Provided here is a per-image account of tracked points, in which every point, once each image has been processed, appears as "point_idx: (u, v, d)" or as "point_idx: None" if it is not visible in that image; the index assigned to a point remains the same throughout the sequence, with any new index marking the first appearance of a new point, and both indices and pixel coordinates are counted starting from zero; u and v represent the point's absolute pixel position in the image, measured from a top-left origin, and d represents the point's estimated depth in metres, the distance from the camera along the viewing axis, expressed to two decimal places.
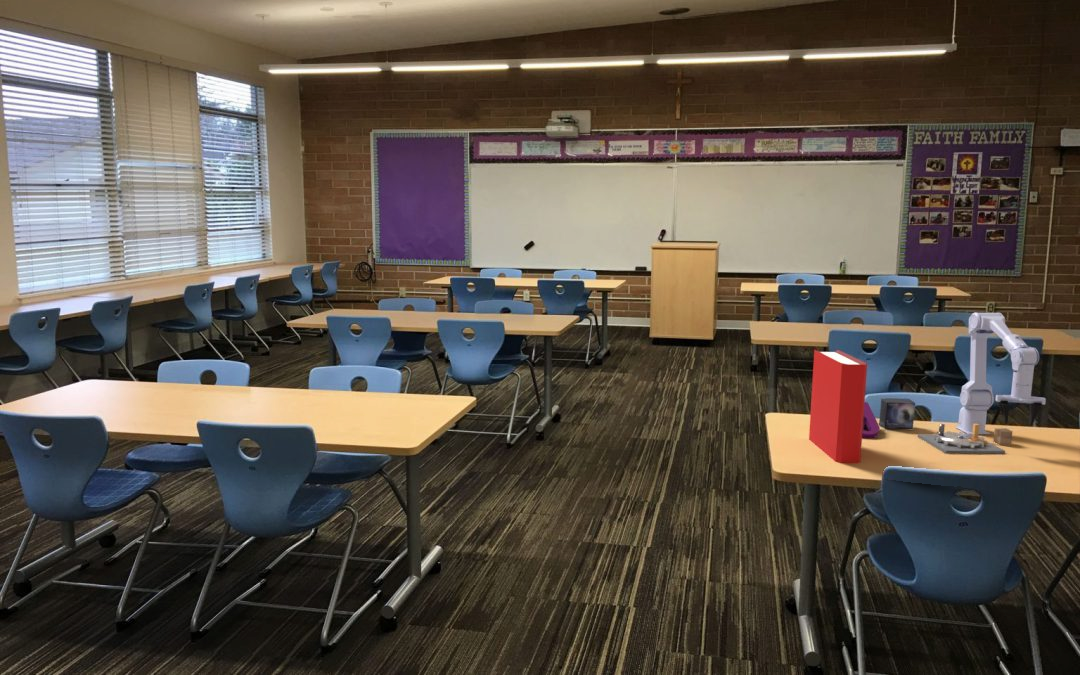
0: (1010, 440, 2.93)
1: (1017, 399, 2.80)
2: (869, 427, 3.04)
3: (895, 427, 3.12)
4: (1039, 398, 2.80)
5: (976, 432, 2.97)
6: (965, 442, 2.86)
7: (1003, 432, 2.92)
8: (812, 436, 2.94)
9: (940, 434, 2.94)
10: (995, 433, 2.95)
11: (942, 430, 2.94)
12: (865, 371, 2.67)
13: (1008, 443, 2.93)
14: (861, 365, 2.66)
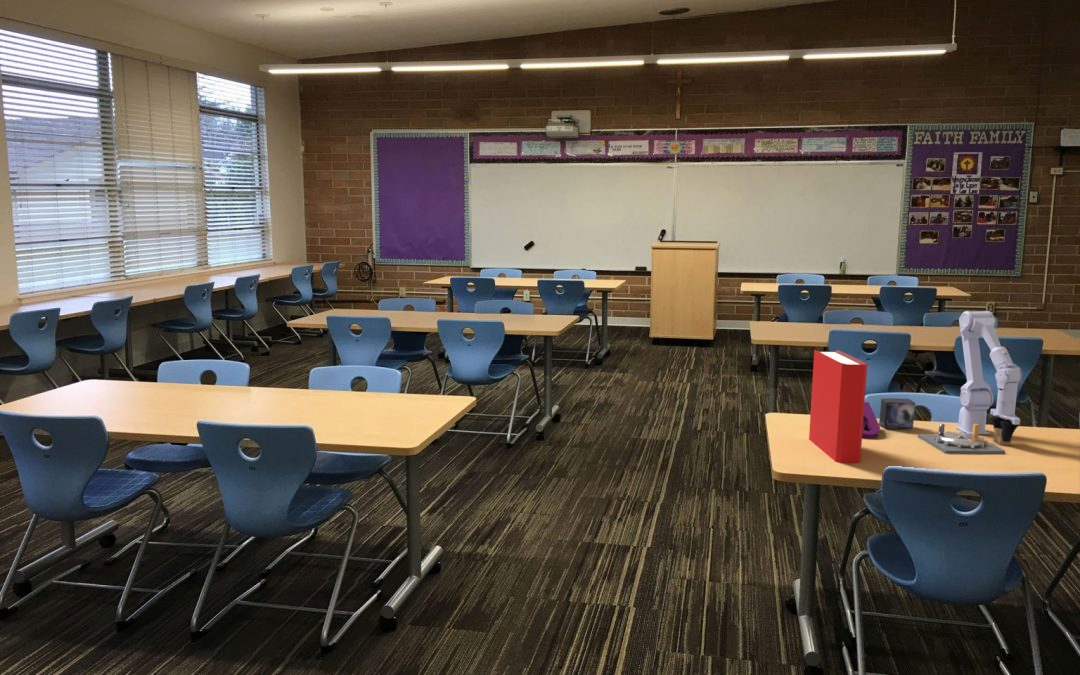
0: (1010, 440, 2.93)
1: None
2: (870, 427, 3.03)
3: (895, 427, 3.12)
4: (1013, 418, 2.88)
5: (976, 432, 2.97)
6: (965, 442, 2.86)
7: None
8: (812, 436, 2.94)
9: (940, 434, 2.94)
10: (996, 433, 2.95)
11: (942, 430, 2.94)
12: (865, 371, 2.67)
13: (1008, 443, 2.93)
14: (861, 365, 2.66)
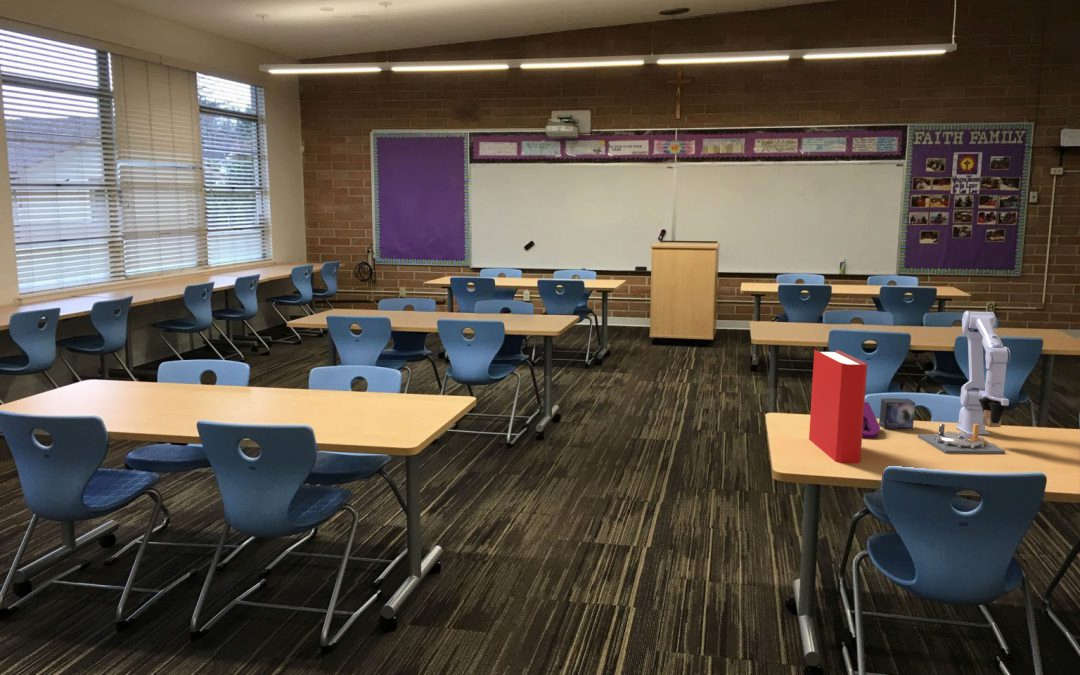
0: (999, 422, 2.89)
1: None
2: (869, 427, 3.03)
3: (895, 427, 3.12)
4: (1002, 399, 2.84)
5: (976, 432, 2.97)
6: (965, 442, 2.86)
7: None
8: (812, 436, 2.94)
9: (940, 434, 2.94)
10: (985, 415, 2.92)
11: (942, 430, 2.94)
12: (865, 371, 2.67)
13: (997, 425, 2.90)
14: (861, 365, 2.66)
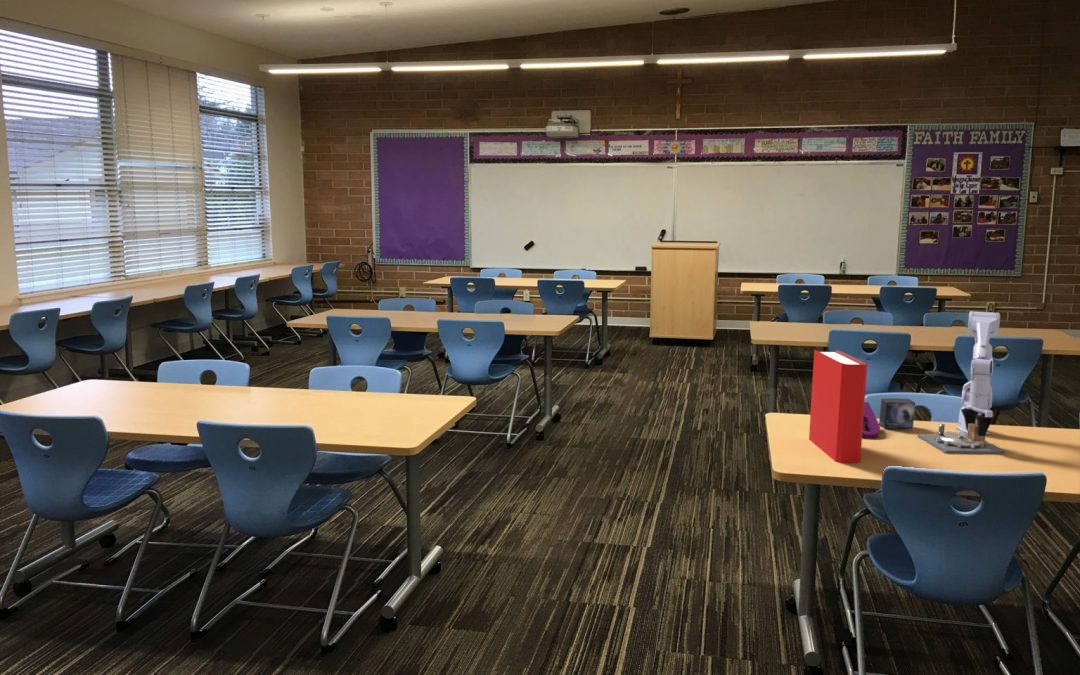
0: (984, 436, 2.88)
1: (967, 406, 2.90)
2: (870, 427, 3.03)
3: (895, 427, 3.12)
4: (986, 410, 2.83)
5: None
6: (965, 442, 2.86)
7: (977, 427, 2.87)
8: (812, 436, 2.94)
9: (940, 434, 2.94)
10: (969, 428, 2.90)
11: (942, 430, 2.94)
12: (865, 371, 2.67)
13: (982, 438, 2.88)
14: (861, 365, 2.66)
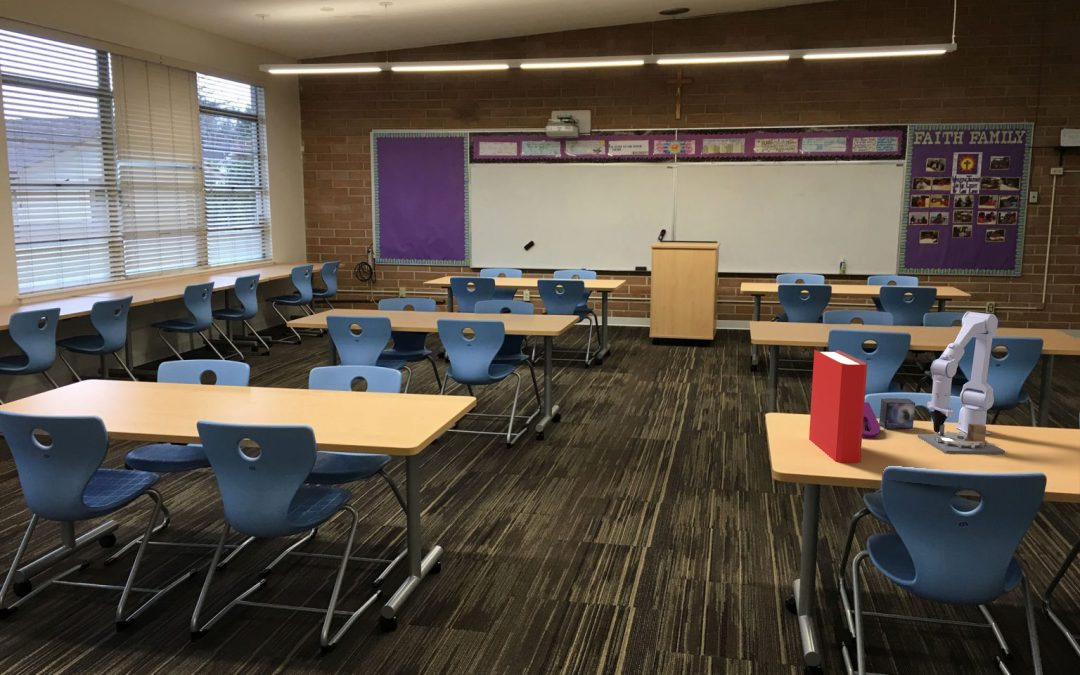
0: (984, 436, 2.88)
1: None
2: (870, 427, 3.03)
3: (895, 427, 3.12)
4: (947, 410, 2.89)
5: None
6: (965, 442, 2.86)
7: (977, 427, 2.87)
8: (812, 436, 2.94)
9: (940, 434, 2.94)
10: (969, 428, 2.90)
11: (942, 430, 2.94)
12: (865, 371, 2.67)
13: (982, 438, 2.88)
14: (861, 365, 2.66)
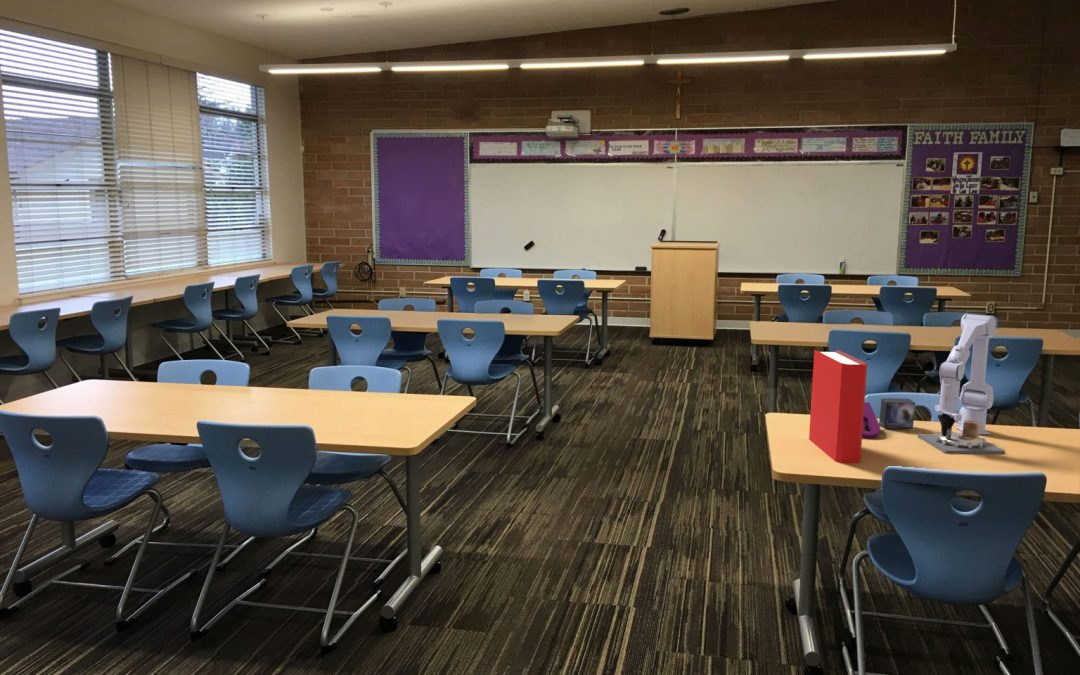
0: None
1: None
2: (870, 427, 3.03)
3: (895, 427, 3.12)
4: (956, 414, 2.84)
5: None
6: (978, 441, 2.88)
7: (976, 424, 2.92)
8: (812, 436, 2.94)
9: (949, 439, 2.89)
10: (966, 426, 2.93)
11: (951, 434, 2.89)
12: (865, 371, 2.67)
13: (976, 434, 2.94)
14: (861, 365, 2.66)
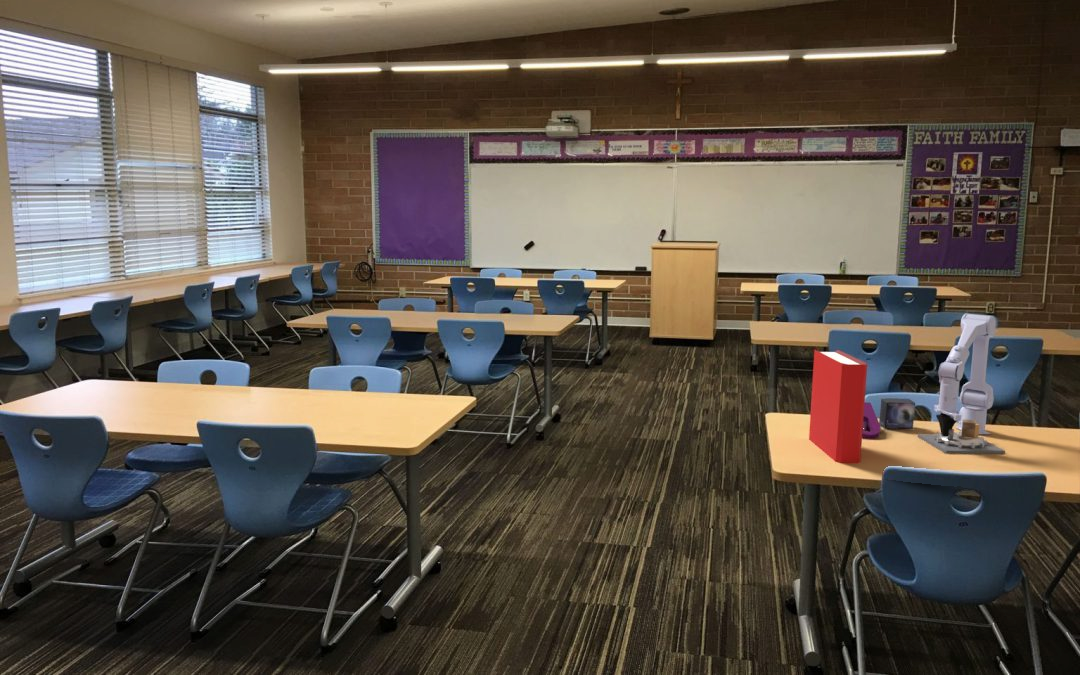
0: None
1: None
2: (870, 427, 3.03)
3: (895, 427, 3.12)
4: (955, 414, 2.84)
5: (976, 432, 2.97)
6: (979, 440, 2.89)
7: (975, 423, 2.92)
8: (812, 436, 2.94)
9: (952, 439, 2.88)
10: (965, 426, 2.93)
11: (953, 435, 2.88)
12: (865, 371, 2.67)
13: None
14: (861, 365, 2.66)
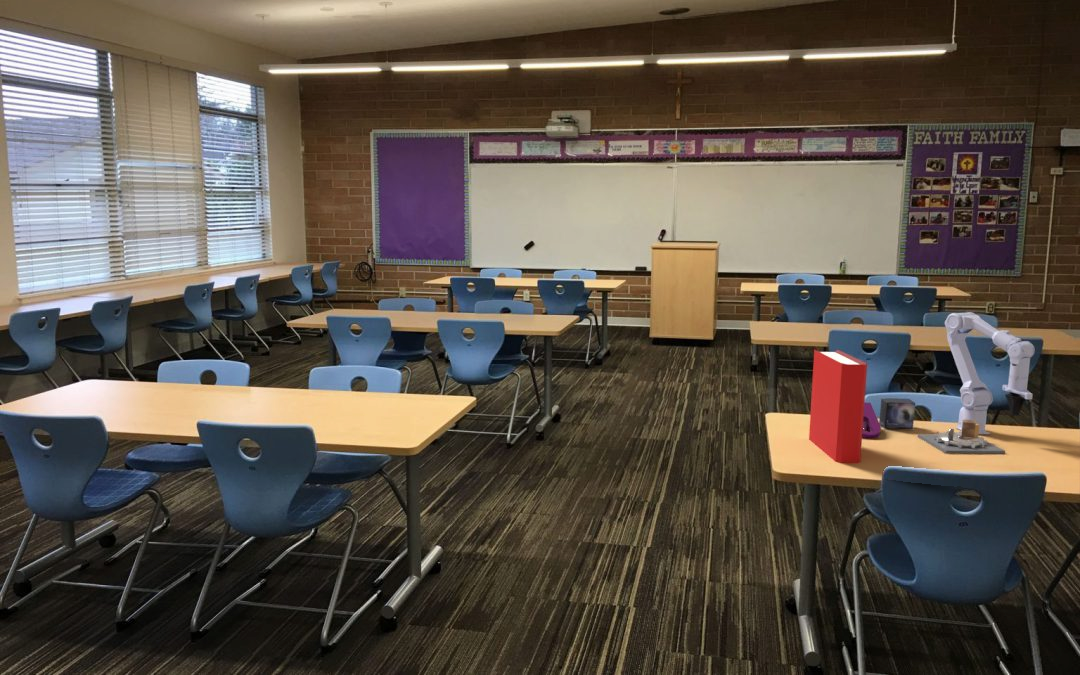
0: None
1: None
2: (870, 427, 3.03)
3: (895, 427, 3.12)
4: (1026, 393, 2.88)
5: (976, 432, 2.97)
6: (979, 440, 2.89)
7: (975, 423, 2.92)
8: (812, 436, 2.94)
9: (952, 439, 2.88)
10: (965, 426, 2.93)
11: (953, 435, 2.88)
12: (865, 371, 2.67)
13: None
14: (861, 365, 2.66)
